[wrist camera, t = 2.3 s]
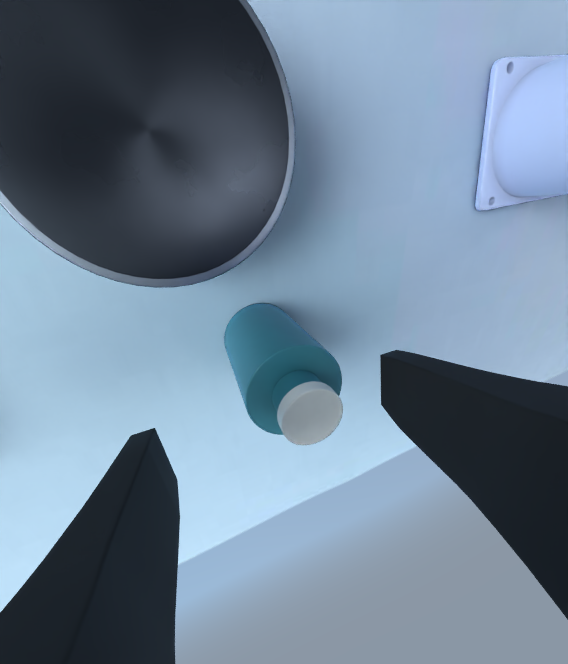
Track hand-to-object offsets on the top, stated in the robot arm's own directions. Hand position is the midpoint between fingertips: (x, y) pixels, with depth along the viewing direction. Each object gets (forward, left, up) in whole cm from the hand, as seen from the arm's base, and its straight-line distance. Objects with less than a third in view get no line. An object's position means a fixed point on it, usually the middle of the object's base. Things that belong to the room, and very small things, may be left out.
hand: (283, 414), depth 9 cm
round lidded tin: (+2, -8, -9) cm, 13 cm away
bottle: (-1, +2, -9) cm, 10 cm away
